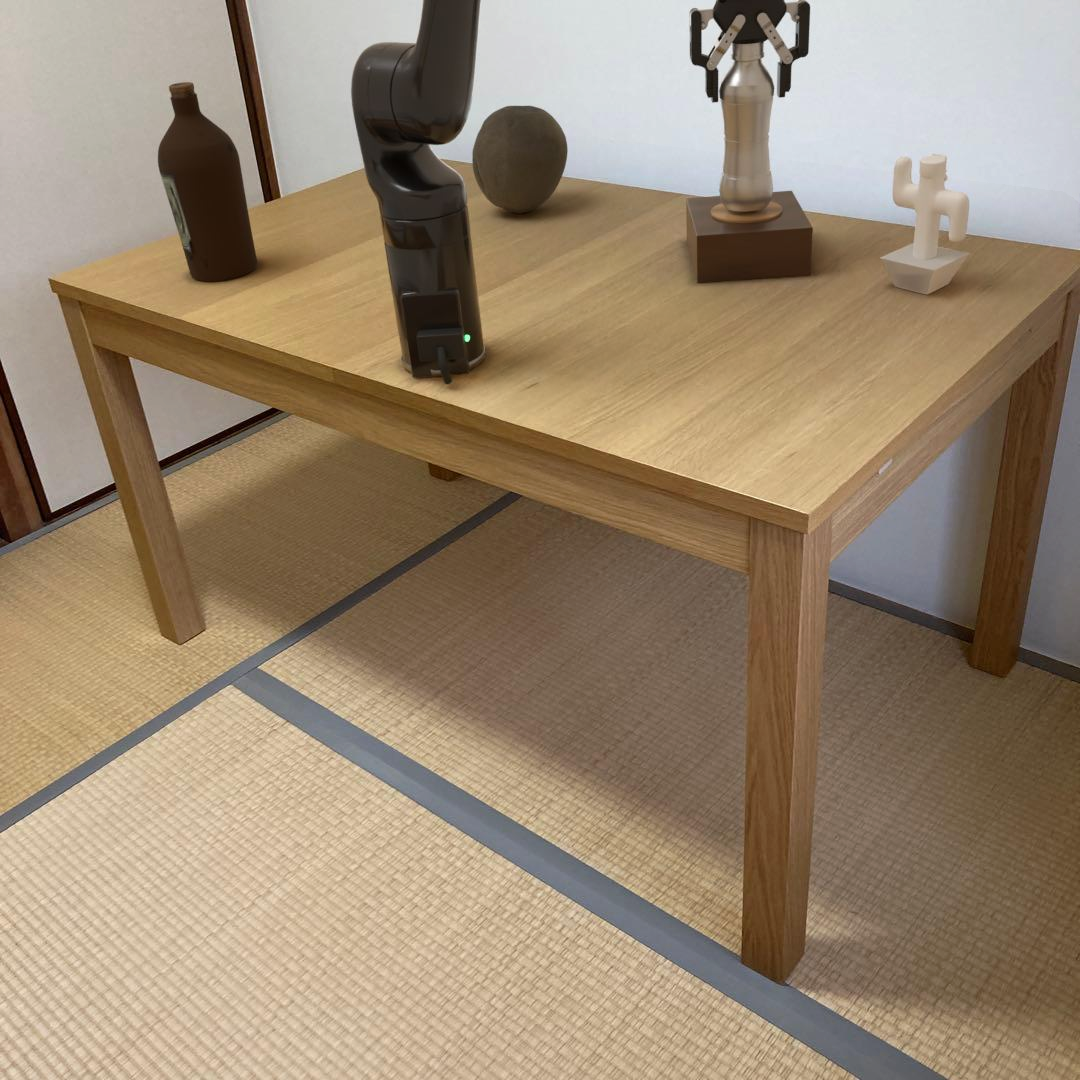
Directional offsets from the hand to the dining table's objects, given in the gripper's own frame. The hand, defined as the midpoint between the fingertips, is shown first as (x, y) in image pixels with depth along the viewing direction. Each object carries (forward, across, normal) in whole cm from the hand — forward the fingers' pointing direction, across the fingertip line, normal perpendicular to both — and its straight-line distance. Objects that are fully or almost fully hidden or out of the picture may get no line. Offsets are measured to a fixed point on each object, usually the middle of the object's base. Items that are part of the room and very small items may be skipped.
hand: (747, 98), depth 140 cm
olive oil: (+20, -72, +10) cm, 75 cm away
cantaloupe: (+20, -30, +29) cm, 46 cm away
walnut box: (+20, 0, 0) cm, 20 cm away
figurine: (+20, +19, -14) cm, 31 cm away
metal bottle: (+14, 0, 0) cm, 14 cm away
